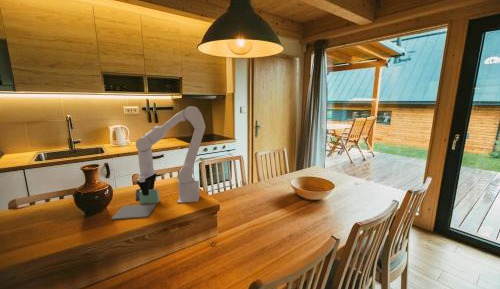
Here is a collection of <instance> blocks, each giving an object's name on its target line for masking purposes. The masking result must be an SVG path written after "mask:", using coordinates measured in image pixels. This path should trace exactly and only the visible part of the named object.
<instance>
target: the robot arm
mask: <svg viewBox="0 0 500 289" xmlns="http://www.w3.org/2000/svg"><path fill="white" fill-rule="evenodd" d="M187 120H188V122H190V125H191V126H192V127H193V129H194V131H193V133H192V137H191V140H190V142H189V146H188V149H187V153H186V156H185V159H184V163H183V166H182V167H181V168H180V169H179V172H178V174H177V180H178V181H177V183H178V194H179V195H178V199H177V202H176V203H179V204H180V203H181V204H182V203H196V202H197V203H198V202H199V199H200V197H201V191H200V181H199V180H195V178H194V177H193V174H194V166H195V162H196V159H197V156H198V152H199V151H200V150H199V149H200V146H201V143H202V140H203V136H204V134H205V130H206V123H205V120H204V117H203V114H202V112H201V111H200V109H199V108H198V107H197V106H194V105H193V106H191V105H190V106H187V107H186V108H185V109H182V110H181V111H179V112H177V113H176V114H175V115H173V116H172V117H171V118H170V119H168V120H167V121H166V122H164V123H163V124H162V125H156V126H152V127H151V129H150V130H149V131H147V133H144V134H142V137H139V138H138V139H137V140H136V141H135V148H136V149H137V154H138V155H137V156H138V164H139V165H138V167H139V172H138V173H137V174H136V175H137V176H139V178H138V180H137V181H136V184H137V185H138V187H139V189H141V191H142V194H143V196H148V195H149V190H152V189H155V182H156V179H157V176H158V174H157V173H155V168H154V159H153V152H152V151H153V150H152V149H153V148H152V147H153V145H155V144H157V143H158V142H160V141H161V140H162V139H163V138H165V137H166V136H167V135H166V133H167V132H168V131H169V130H170V129H171V128H173V127H174V126H176V125H177V124H178V123H180V122H186V121H187Z"/></svg>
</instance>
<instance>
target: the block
mask: <svg viewBox="0 0 500 289" xmlns="http://www.w3.org/2000/svg"><path fill="white" fill-rule="evenodd" d="M139 198H140V201H139V205H145V204H158V203H159V202H160V195H159V189H158V188H157V189H156V188H154V189H152V190H149V195H148V196H143V194H142V191H141V190H140V191H139Z"/></svg>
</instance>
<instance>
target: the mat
mask: <svg viewBox="0 0 500 289" xmlns="http://www.w3.org/2000/svg"><path fill="white" fill-rule="evenodd" d="M157 204H158V203H148V204H133V205H132V204H131V205H122V207H121V208H120V209H119V210H118V211H117V212H116V213H115V214H114V215H113V216H112V217H111V218H110V220H111V221H116V220H127V219H128V220H133V219H145V218H146V219H147V218H149V217H150V216H151V214H152V212H153V211H154V210H155V208H156V207H157Z"/></svg>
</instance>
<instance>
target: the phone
mask: <svg viewBox="0 0 500 289" xmlns="http://www.w3.org/2000/svg"><path fill="white" fill-rule="evenodd" d="M140 190H141V189H140V188H138V189H136V190H135V201H136V202H140V198H139V191H140Z"/></svg>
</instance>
